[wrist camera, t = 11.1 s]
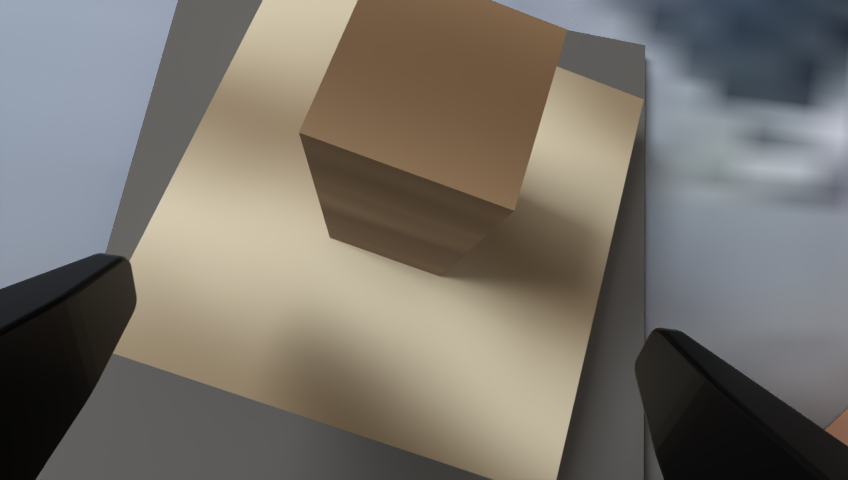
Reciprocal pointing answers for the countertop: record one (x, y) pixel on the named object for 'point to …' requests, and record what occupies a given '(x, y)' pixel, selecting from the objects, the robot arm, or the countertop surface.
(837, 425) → the storage box
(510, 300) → the lid
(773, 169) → the countertop surface
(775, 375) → the countertop surface
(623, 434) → the mat
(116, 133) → the countertop surface
